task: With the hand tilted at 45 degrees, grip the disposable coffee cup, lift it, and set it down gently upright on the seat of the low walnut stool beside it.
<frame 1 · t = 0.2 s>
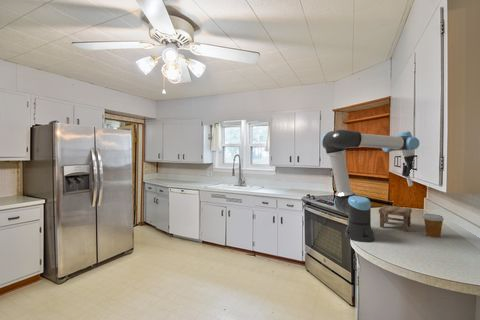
hand: (419, 186, 153), 27 cm above the worktop, tool tilted 15°, fingers open, 13 cm apart
disposable coffee cup: (433, 236, 139), on the worktop
walnut stool: (395, 226, 158), on the worktop
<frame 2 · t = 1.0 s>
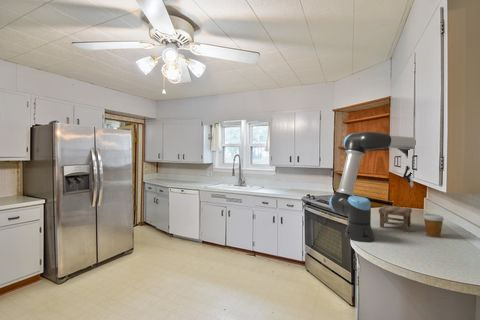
hand: (425, 186, 149), 28 cm above the worktop, tool tilted 45°, fingers open, 13 cm apart
nothing on the worktop moved.
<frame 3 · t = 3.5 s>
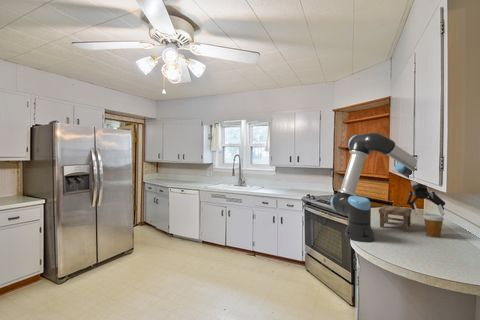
hand: (429, 214, 145), 11 cm above the worktop, tool tilted 45°, fingers open, 13 cm apart
nothing on the worktop moved.
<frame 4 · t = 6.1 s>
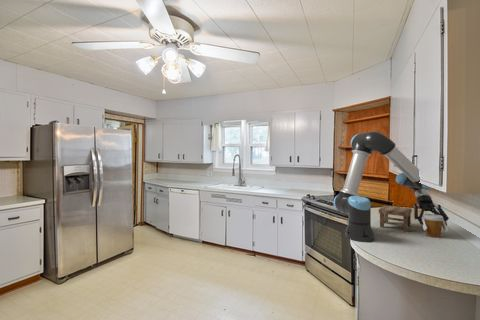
hand: (435, 230, 136), 4 cm above the worktop, tool tilted 45°, fingers closed on disposable coffee cup, 9 cm apart
disposable coffee cup: (433, 236, 139), on the worktop, touching gripper
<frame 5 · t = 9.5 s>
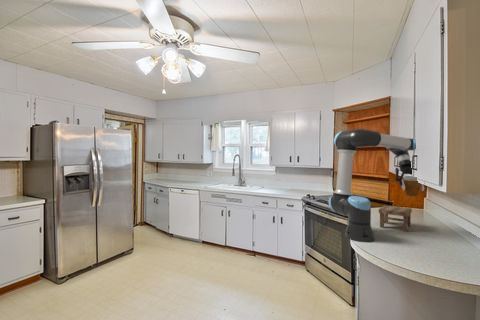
hand: (413, 189, 147), 26 cm above the worktop, tool tilted 45°, fingers closed on disposable coffee cup, 9 cm apart
disposable coffee cup: (411, 195, 150), point 22 cm above the worktop, touching gripper
when the fingers open (18 cm above the worktop, at t = 13.2 s): disposable coffee cup drops 1 cm, resting on walnut stool.
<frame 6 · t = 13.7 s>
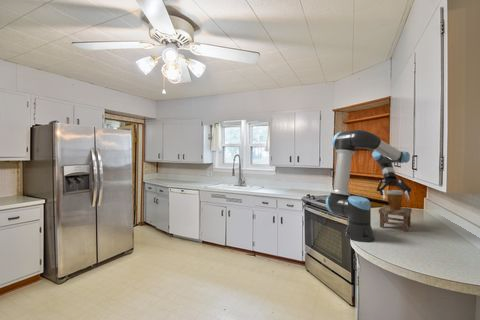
hand: (396, 199, 155), 19 cm above the worktop, tool tilted 45°, fingers open, 13 cm apart
disposable coffee cup: (395, 208, 158), point 12 cm above the worktop, touching walnut stool
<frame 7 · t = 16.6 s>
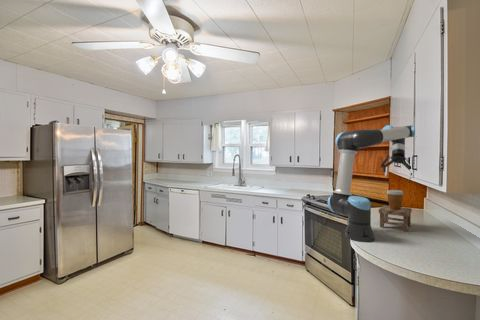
hand: (397, 177, 157), 33 cm above the worktop, tool tilted 35°, fingers open, 13 cm apart
nothing on the worktop moved.
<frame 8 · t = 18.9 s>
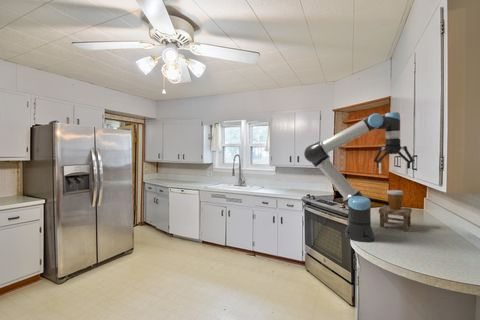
hand: (393, 173, 142), 37 cm above the worktop, tool pointing down, fingers open, 13 cm apart
nothing on the worktop moved.
at the end: disposable coffee cup inside the target area on the walnut stool (0.1 cm from its centre), point 11.8 cm above the walnut stool's base; disposable coffee cup tilted 0°; the gripper is holding nothing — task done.
